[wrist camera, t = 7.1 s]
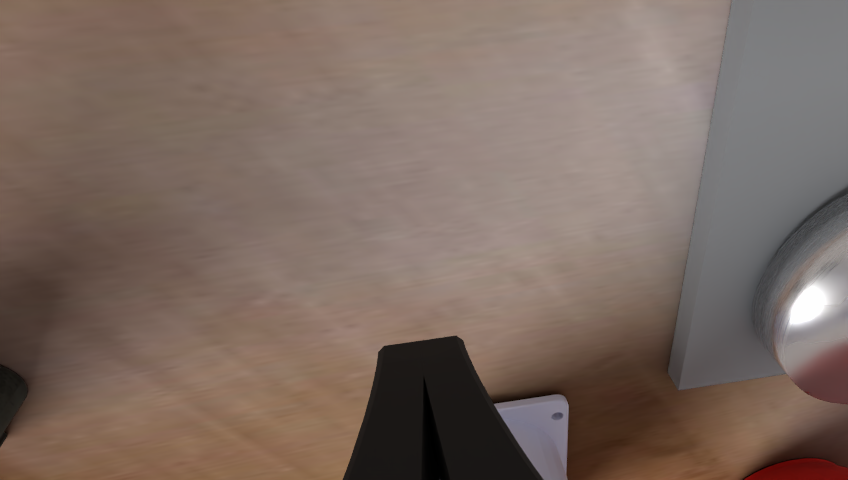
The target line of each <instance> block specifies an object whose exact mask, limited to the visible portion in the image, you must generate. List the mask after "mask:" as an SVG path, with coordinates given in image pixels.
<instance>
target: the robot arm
mask: <svg viewBox="0 0 848 480" xmlns="http://www.w3.org/2000/svg"><path fill="white" fill-rule="evenodd" d="M568 413H569V405H568V402H567V400H566V398H565V397H564V396H563V395H559V394H557V395H549V396H542V397H536V398H529V399H523V400H516V401H510V402H503V403H496V404H493V402H492V400H491V399H490V397H489V395H488V393H487V391H486V390H485V388H484V386H483V384H482V382H481V380H480V378H479V377H478V375H477V373H476V371H475V369H474V366H473V364H472V362H471V360H470V358H469V355H468V353H467V350H466V348H465V345H464V342H463V340H462V339H460V338H459V337H457V336H451V337H444V338H437V339H430V340H423V341H416V342H409V343H402V344H395V345H388V346H384V347H383V348H382V349H381V350H380V351H379V352H378V360H377V367H376V372H375V377H374V381H373V386H372V390H371V394H370V398H369V401H368V405H367V409H366V412H365V416H364V419H363V422H362V425H361V428H360V431H359V434H358V438H357V441H356V444H355V447H354V450H353V453H352V456H351V459H350V462H349V465H348V467H347V470H346V473H345V475H344V478H343V480H568V479H567V476H566V471H567V442H568Z"/></svg>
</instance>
